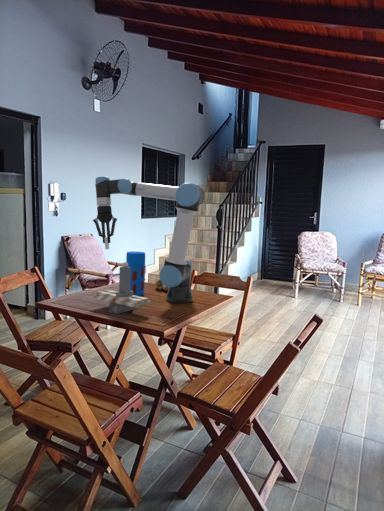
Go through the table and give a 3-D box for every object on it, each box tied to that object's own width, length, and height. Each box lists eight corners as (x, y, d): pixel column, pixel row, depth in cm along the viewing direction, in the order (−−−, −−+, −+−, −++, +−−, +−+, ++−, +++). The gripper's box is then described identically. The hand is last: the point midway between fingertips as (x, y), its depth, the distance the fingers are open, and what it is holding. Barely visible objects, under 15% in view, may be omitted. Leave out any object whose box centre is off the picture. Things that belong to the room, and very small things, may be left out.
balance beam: (92, 308, 184) (92, 292, 183) (110, 303, 194) (110, 288, 193) (134, 319, 169) (135, 301, 168) (151, 313, 179) (151, 297, 178)
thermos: (147, 294, 219) (149, 252, 216) (135, 297, 210) (137, 254, 207) (133, 291, 225) (135, 250, 222) (121, 294, 216) (122, 252, 213)
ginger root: (162, 283, 247) (164, 272, 245) (180, 292, 239) (183, 281, 237) (146, 287, 235) (148, 276, 232) (165, 297, 227) (168, 285, 224)
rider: (115, 298, 177) (116, 262, 175) (127, 295, 184) (128, 260, 182) (121, 300, 175) (122, 263, 173) (133, 297, 182) (134, 261, 180)
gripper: (117, 205, 204) (120, 248, 206) (93, 207, 204) (97, 249, 205) (114, 204, 196) (117, 248, 198) (90, 206, 196) (93, 250, 198)
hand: (107, 249), depth 202 cm, fingers closed
